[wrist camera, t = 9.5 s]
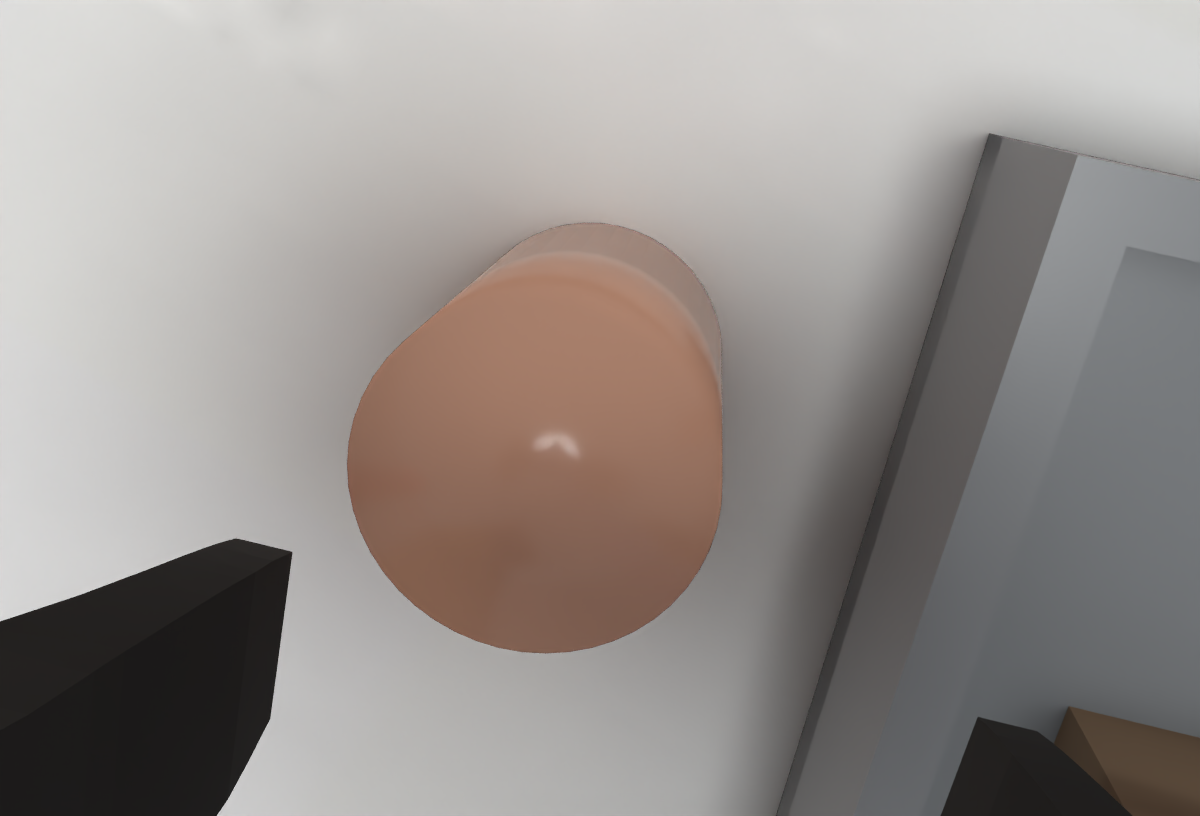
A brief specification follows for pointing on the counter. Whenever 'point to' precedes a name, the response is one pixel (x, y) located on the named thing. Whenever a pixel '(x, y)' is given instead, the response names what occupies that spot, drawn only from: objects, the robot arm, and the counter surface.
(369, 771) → the counter surface
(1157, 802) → the walnut cube
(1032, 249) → the tote
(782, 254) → the counter surface
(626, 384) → the terracotta cylinder
